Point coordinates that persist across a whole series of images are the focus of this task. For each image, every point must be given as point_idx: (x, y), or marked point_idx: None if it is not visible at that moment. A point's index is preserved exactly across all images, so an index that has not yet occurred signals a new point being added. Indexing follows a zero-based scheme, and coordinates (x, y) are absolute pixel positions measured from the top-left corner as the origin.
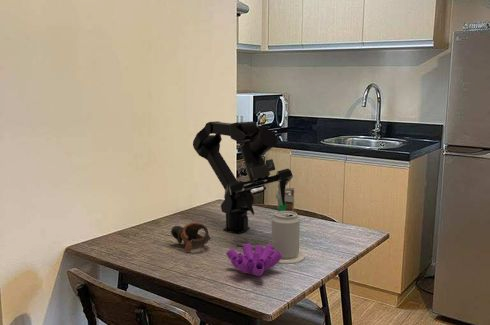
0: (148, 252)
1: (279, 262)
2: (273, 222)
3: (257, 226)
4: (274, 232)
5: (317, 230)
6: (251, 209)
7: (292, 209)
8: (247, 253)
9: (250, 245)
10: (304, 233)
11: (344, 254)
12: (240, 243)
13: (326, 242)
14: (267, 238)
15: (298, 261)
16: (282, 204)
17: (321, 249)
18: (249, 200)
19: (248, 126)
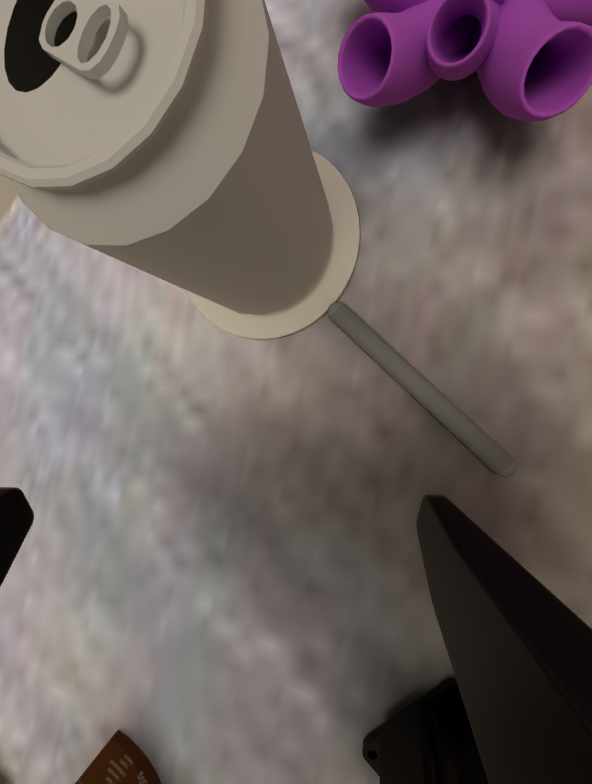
0: None
1: (316, 155)
2: (272, 35)
3: (306, 767)
4: (294, 96)
5: (39, 586)
6: (478, 538)
7: None
8: (553, 18)
9: (532, 40)
10: (100, 563)
11: (20, 253)
12: (495, 450)
13: (45, 415)
14: (294, 544)
15: None
16: (15, 532)
17: (86, 327)
18: (586, 727)
19: None
